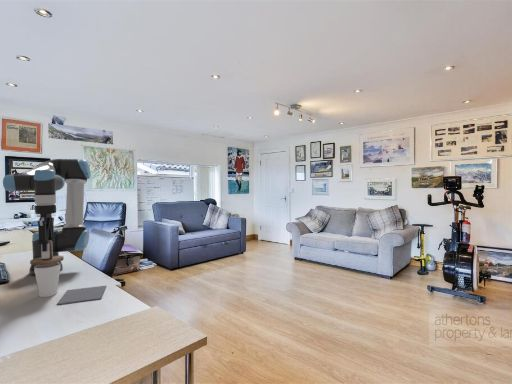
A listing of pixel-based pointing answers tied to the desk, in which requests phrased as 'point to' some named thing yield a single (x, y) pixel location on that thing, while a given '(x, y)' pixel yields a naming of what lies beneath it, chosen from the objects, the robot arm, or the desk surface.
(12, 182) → the robot arm
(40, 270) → the foam cup
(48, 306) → the desk surface
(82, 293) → the mat
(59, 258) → the lid
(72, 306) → the desk surface
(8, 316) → the desk surface
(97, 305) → the desk surface
